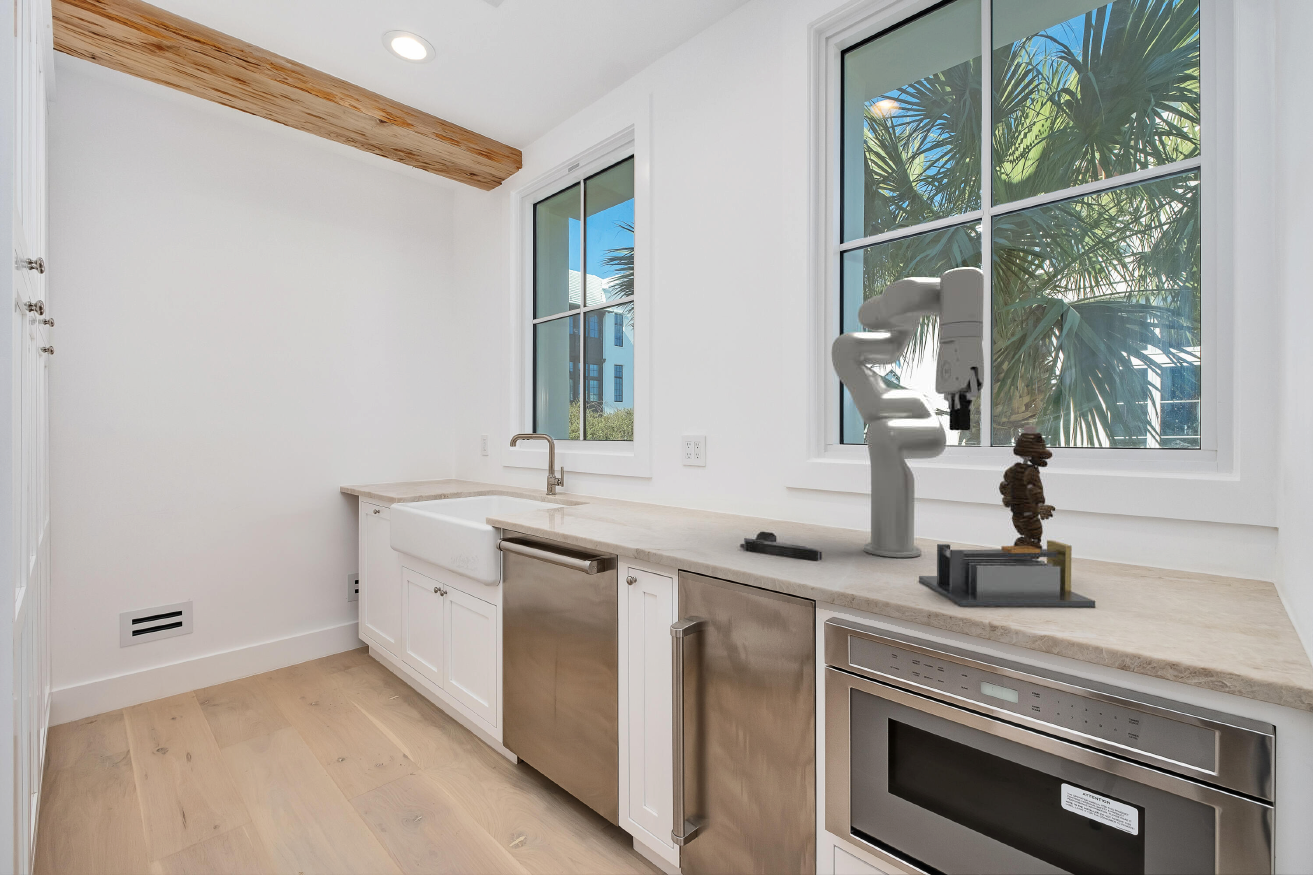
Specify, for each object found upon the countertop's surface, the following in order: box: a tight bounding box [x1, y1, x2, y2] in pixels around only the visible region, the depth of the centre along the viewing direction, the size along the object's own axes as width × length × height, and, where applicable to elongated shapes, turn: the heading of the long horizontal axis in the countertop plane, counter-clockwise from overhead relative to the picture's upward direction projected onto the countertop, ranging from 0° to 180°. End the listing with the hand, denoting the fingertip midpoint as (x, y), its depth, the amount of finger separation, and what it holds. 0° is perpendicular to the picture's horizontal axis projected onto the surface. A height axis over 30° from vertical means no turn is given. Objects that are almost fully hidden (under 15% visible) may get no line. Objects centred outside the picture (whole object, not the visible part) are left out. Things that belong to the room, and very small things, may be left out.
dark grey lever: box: [941, 545, 1057, 558], centre depth 105 cm, size 19×4×2 cm, turn 90°
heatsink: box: [918, 539, 1096, 608], centre depth 105 cm, size 22×16×9 cm
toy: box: [998, 425, 1056, 560], centre depth 121 cm, size 20×7×30 cm, turn 168°
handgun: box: [739, 531, 823, 562], centre depth 141 cm, size 3×21×12 cm
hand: (959, 430), depth 114 cm, fingers closed
